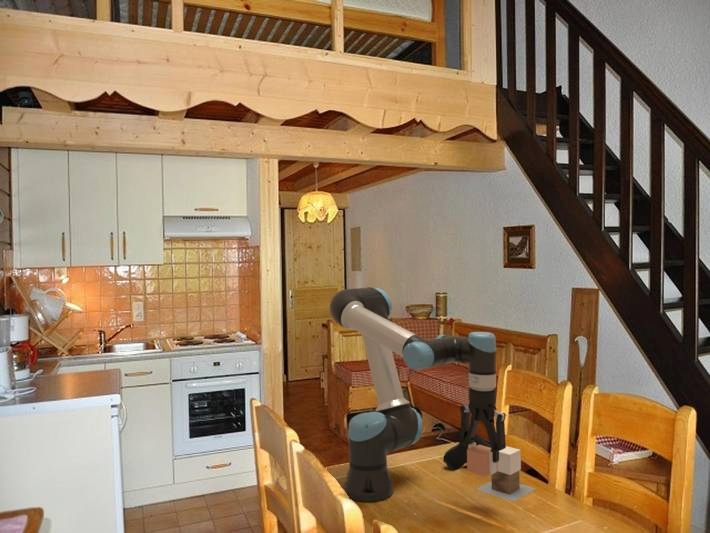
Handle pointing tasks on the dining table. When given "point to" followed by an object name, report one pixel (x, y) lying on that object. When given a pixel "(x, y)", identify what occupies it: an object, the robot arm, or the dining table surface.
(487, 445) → the taser
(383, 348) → the robot arm
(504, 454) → the beige cube
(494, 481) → the brick
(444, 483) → the dining table surface
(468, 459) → the brick
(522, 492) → the board
